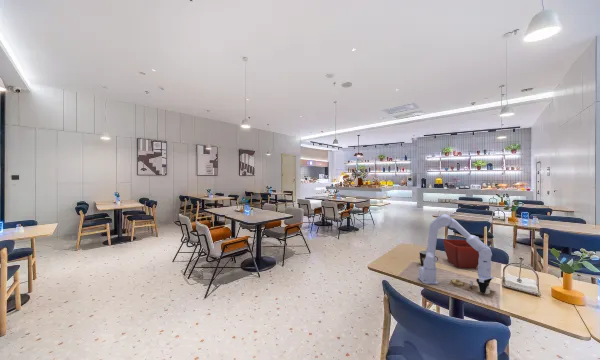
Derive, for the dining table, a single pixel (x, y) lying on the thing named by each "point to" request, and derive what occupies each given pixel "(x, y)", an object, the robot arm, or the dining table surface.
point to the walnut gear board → (466, 286)
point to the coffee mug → (423, 256)
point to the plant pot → (461, 254)
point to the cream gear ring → (486, 290)
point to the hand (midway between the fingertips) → (483, 291)
